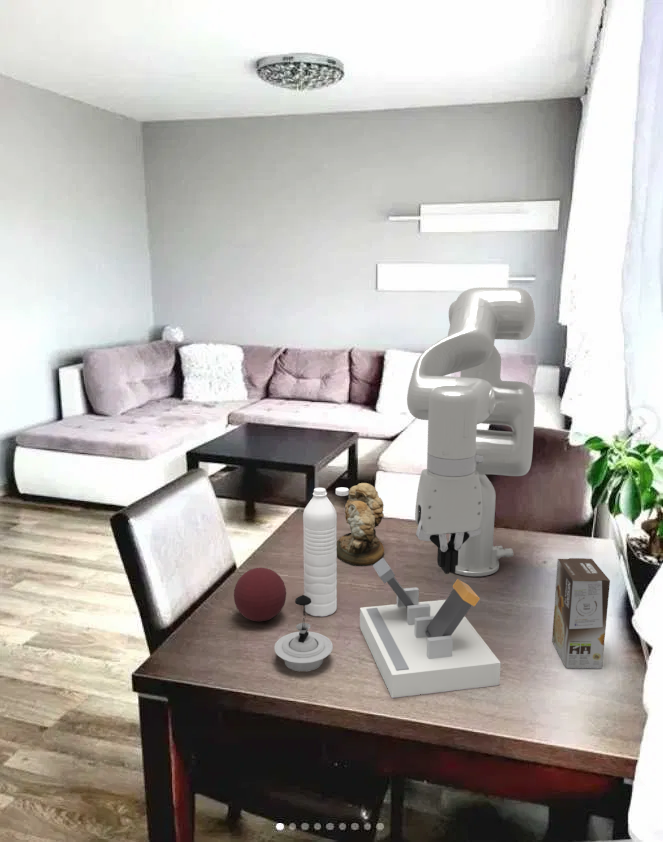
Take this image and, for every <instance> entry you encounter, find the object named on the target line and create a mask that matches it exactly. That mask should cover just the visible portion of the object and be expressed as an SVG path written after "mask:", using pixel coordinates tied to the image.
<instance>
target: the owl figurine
mask: <svg viewBox="0 0 663 842" xmlns="http://www.w3.org/2000/svg"><path fill="white" fill-rule="evenodd" d="M344 505H345V507H344V514H345V515H344V518H345V521H346V523H347V524H349V528H350V532H348V533H345V534H344V535H342V536H340V537H339V538H338V540H336V541H337V544H336V545H337V548H336V549H337V559H339V560H340V561H341V560H342V561H341V562H343V563H345V564H349V565H351V566H355V565H356V566H359V567H369V566H373V565H374V564H375V563H376V562H378V561H379V560H381V559H382V558H384V555H385V547H384V545H383V542H381V540H379V539H380V538H379V537H378V536H377V534H376V533H377V531H376V528H377V527H379V525H380V524H381V522H382V520H383V519H384V517H385V515H384V513H383V512H384V506H385V505H384V502H383V499H382V498H381V497H379V493H378V491H377V489H376V487H375V486H374V485H372V484H371V483H367V482H361V483H358V484H357V485H353V486H351V487H350V488H349V494H348V499H347V500H346V503H345V504H344ZM356 566H355V567H356Z"/></svg>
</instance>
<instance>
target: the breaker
mask: <svg viewBox="0 0 663 842" xmlns="http://www.w3.org/2000/svg"><path fill="white" fill-rule="evenodd" d="M372 567H373V569H374V570H375V572H376V573H377V575H378V577H379V579H380V580H381V581H382V582H383V584H384V585H385V584H386V583H387V584H388V585H389V587H390V588H391V589H392V591H393V592H394V594H396V597H397V596H398V597H399V599H400V600H401V601H402V603H403V604H404V605H405V606H406V608H407V606H410V605H415V604H414V603H413V601H412V600H411V598H410V597H409V596H408V594H407V593H406V592H405V590H404V587H403V586H402V585H401V584H400V583H399V581H398V580H397V578H396V574H395V573H394V571H393V569H392V568H391V566H390V564H388V562H387V561H386V559H385V558H384V557H383V558H382V559H381V560H379V561H378V562H376V563H375V564H374V565H372Z"/></svg>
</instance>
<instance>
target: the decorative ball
mask: <svg viewBox="0 0 663 842" xmlns="http://www.w3.org/2000/svg"><path fill="white" fill-rule="evenodd" d="M286 588H287V587H286V585H285V583H284V581H283V579H282V577H281V576H280V575H279V574H278V573H277V572H275V571H274V570H272V569H270V568H265V567H255V568H252V569H249V570H247V571H246V572H244V573H243V574H242V575H240V577H239V579H238V580H237V582H236V584H235V586H234V590H233V601H234V604H235V607H236V609H237V611H239V613H240V614H241V615H242V616H243V617H245V619H248V620H250V621H252V622H266V621H269V620H271V619H272V618H275V617H276V616H277V615H278V614H280V612H281V611H282V609H283V607H284V606H285V603H286V600H287V589H286Z"/></svg>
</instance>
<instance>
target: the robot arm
mask: <svg viewBox="0 0 663 842" xmlns="http://www.w3.org/2000/svg"><path fill="white" fill-rule="evenodd" d="M533 301H534V300H533V298H532V296H531V294H530V292H528V291H527V290H525V289H523V288H519V287H473V288H468V289H466V290H464V291H462V292H461V293H460V294H459V296H458V297H457V299H456V300H454V301H453V302H451V304H450V305H449V308H448V309H449V310H448V321H449V329H448V333H447V336H445V337H443V338H441V339H440V340H437V342H435V343H434V344H432V345H431V346H430V347H428V348H427V349H426V350H425V351H423V352H422V353H421V354H420V355H419V357H418V358H417V360H416V362H415V364H414V367H413V370H412V373H411V376H410V377H411V378H410V380H409V384H408V387H407V395H406V396H407V397H406V404H407V409H408V411H409V413H410V414H411V415H412V416H413V417H414V418H416V419H418V420H421V421H427V450H426V451H427V452H426V453H427V454H426V456H427V458H426V469H422V470H421V473H420V477H419V482H418V487H417V493H416V500H415V501H416V502H415V510H414V511H415V512H414V519H415V523H416V525H417V529H416V532H415V536H416V537H417V539H418V540H419V541H425V542H432V543H433V544H434V545H435V546H436V547H437V555H436V556H437V566H438V567H439V568H440V569H441V570H442V571H443V572H444V574H445V575H448V574H450V573H451V574H456V575H461V576H466V577H486V576H487V577H488V576H489V575H492V574H494V573H496V572H498V570H499V568H500V562H499V560H500V559H501V558H511V557H512V558H513V556H514V551H513V548H511V547H509V548H504V547H503V545H495V546H494V536H495V535H494V534H495V531H494V530H495V516H496V515H495V513H496V497H497V496H496V490H495V487H494V486H493V483H492V482H491V481H490V479H489V478H488V476H487V475H495V476H496V475H497V476H507V477H522V476H525V475H527V474H528V473H529V471H530V469H531V466H532V460H533V449H534V448H533V447H534V433H535V432H534V430H535V428H534V427H535V414H536V412H535V411H536V401H535V392H534V390H533V388H532V386H531V385H530V384H528V383H527V382H524V381H523V382H522V381H513V380H510V381H509V380H502V378H501V372H502V371H501V370H502V369H501V368H502V356H501V354H500V353H499V350H498V349H497V348H496V347H497V346H495V341H496V340H507V341H508V340H511V341H512V340H513V341H518V340H519V341H520V340H521V341H522V340H526V339H528V338H529V337H530V336H531V335H532V333H533V330H534V327H535V321H536V312H535V304H534V302H533ZM455 373H460V376H451V374H455ZM449 375H450V376H449ZM479 424H483V425H501V426H507V427H509V428H511V430H512V431H504V430H493V429H492V430H491V429H478V428H477V427H478V425H479ZM447 535H449V537H448V539H447Z"/></svg>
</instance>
